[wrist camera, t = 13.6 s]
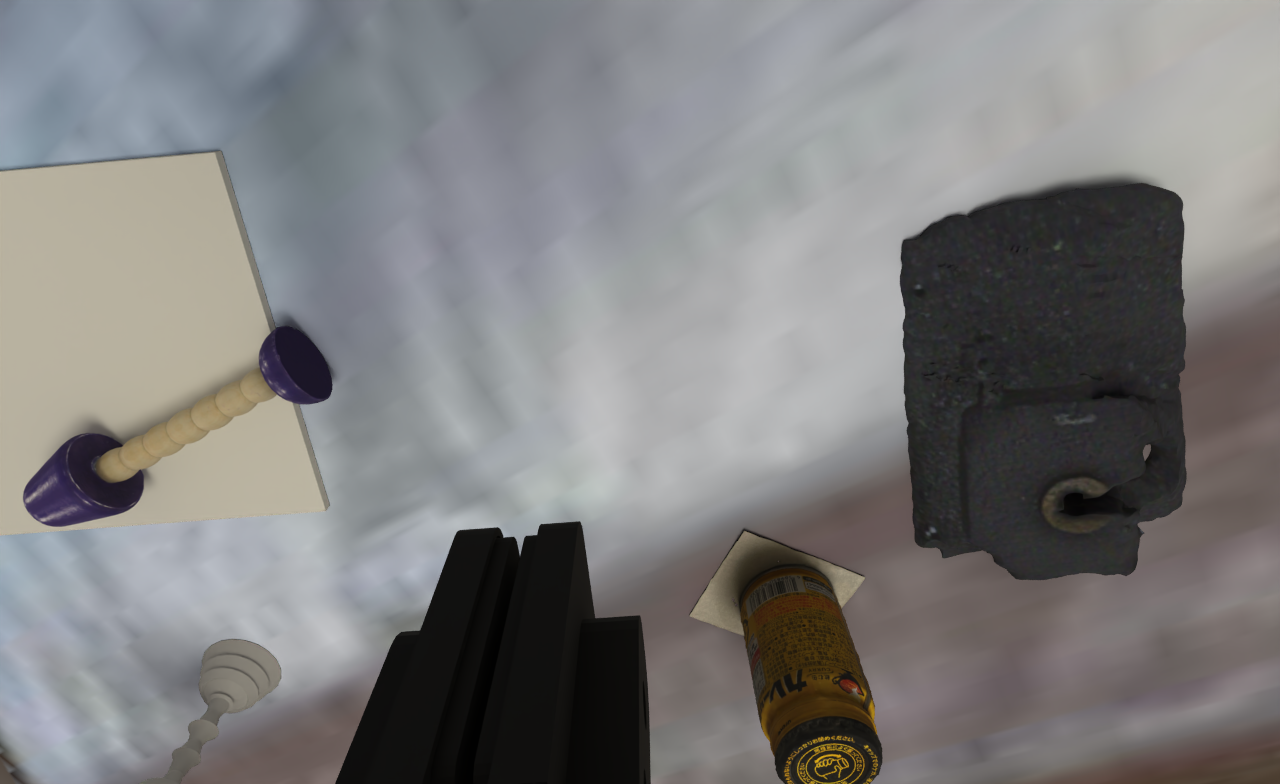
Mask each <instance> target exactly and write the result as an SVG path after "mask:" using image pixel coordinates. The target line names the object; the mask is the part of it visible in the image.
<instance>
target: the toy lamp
mask: <svg viewBox="0 0 1280 784" xmlns="http://www.w3.org/2000/svg"><path fill="white" fill-rule="evenodd" d="M259 366H260V367H259V368H256V369H254V370H252V371H250V372H249V373H248V374H246V375H245V376H244V378H243V379H242V380H238V381H234V382H231V383H229V384H227V385H226V386H224V387H223V388H222V389H221V390H220V391H219V392H218V394H212V395H209V396H206V397H204V398H202V399H201V400H199V401H198V402H197V403H196V404H195V405H194V407H193V408H188V409H184V410H182V411H180V412H178V413H177V414H175V415H174V416H173V417H172V418H171V419H170V420H169V422H163V423H160V424H158V425H156V426H154V427H152V428H151V429H150V430H149V431H148V432H147V433H146V434H145V435H140V436H136V437H134V438H132V439H130V440H129V441H127V442H126V443H125V444H124V445H122V444H121V443H119V442H118V441H116V440H114V439H113V438H111V437H108V436H105V435H102V434H96V433H85V434H79V435H77V436H74V437H72V438H71V439H69V440H68V441H66V442H65V443H64V444H63V445H62V446H61V447H60V448H59V449H58V450H57V451H56V452H55V453H54V454H53V455H52V456H51V457H50V458H49V459H48V460H47V461H46V462H45V464H44V465H43V466H42V467H41V468H40V469H39V470H38V471H37V473H36V474H35V475H34V476H33V477H32V478H31V479H30V480H29V482H28V483H27V485H26V486H25V489H24V492H23V502H24V505H25V508H26V509H27V511H28V513H29V514H30V515H31V516H32V517H33V518H34V519H36V520H37V521H39V522H40V523H42V524H45V525H47V526H52V527H64V526H70V525H75V524H79V523H83V522H88V521H92V520H97V519H101V518H105V517H110V516H114V515H118V514H121V513H124V512H126V511H128V510H130V509H131V508H133V507H134V506H135V505H136V504H137V503H138V501H139V500H140V498H141V496H142V493H143V490H144V475H143V473H142V471H141V469H145V468H149V467H151V466H153V465H154V464H156V463H157V462H158V461H159V460H161V458H162V457H166V456H170V455H172V454H174V453H176V452H178V451H179V450H181V449H182V448H183V447H184V446H185V445H186V444H190V443H194V442H196V441H199V440H200V439H202V438H203V437H205V436H206V435H207V434H208V433H209V432H210V430H216V429H219V428H221V427H223V426H225V425H227V424H228V423H229V422H230V421H231V420H232V419H233V417H236V416H240V415H243V414H246V413H248V412H249V411H251V410H252V409H253V408H254V407H255V406H256V405H257V404H258V403H260V402H265V401H268V400H270V399H272V398H274V397H275V396H276V395H278V396H280V397H281V398H283V399H285V400H287V401H289V402H292V403H296V404H313V403H318V402H322V401H324V400H326V399H328V398H329V396H330V395H331V392H332V378H331V376H330V372H329V369H328V366H327V364H326V362H325V360H324V358H323V356H322V355H321V354H320V352H319V350H318V349H317V348H316V346H315V345H314V344H313V343H312V342H311V341H310V339H308V338H307V337H306V336H305V335H304V334H302V333H301V332H300V331H298V330H296V329H293V328H292V327H288V326H282V327H278V328H276V329H275V330H273V331H272V332H271V333H270V334H269V335H268V336H267V337H266V338H265V340H264V342H263V344H262V346H261V348H260V351H259Z"/></svg>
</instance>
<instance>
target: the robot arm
mask: <svg viewBox="0 0 1280 784" xmlns="http://www.w3.org/2000/svg"><path fill="white" fill-rule="evenodd" d="M335 784H651V781H650V730H649V702H648V684H647V671H646V660H645V650H644V640H643V631H642V623H641V617H640V616H624V617H610V618H595V614H594V607H593V600H592V592H591V585H590V578H589V571H588V564H587V557H586V550H585V542H584V535H583V529H582V525H581V523H580V521H579V522H566V523H552V524H541V525H540V526H539V529H538V534H537V535H533V536H526V537H525V538H524V542H523V546H522V551H521V555H519V550H518V545H517V541H516V539H515V538H514V537H505V538H503V534H502V532H501V530H500V529H499V528H498V527H497V528H484V529H470V530H459V531H458V532H457V533H456V535H455V537H454V540H453V543H452V545H451V548H450V551H449V554H448V556H447V559H446V562H445V564H444V567H443V570H442V573H441V575H440V578H439V581H438V584H437V586H436V589H435V592H434V595H433V597H432V600H431V603H430V606H429V608H428V611H427V614H426V616H425V619H424V622H423V625H422V627H421V630H420V631H407V632H401V633H400V634H398V635H397V636H396V637H395V639H394V641H393V643H392V645H391V647H390V649H389V652H388V654H387V657H386V659H385V662H384V664H383V667H382V669H381V672H380V674H379V677H378V679H377V682H376V684H375V687H374V689H373V691H372V694H371V696H370V699H369V701H368V704H367V706H366V709H365V711H364V714H363V716H362V719H361V721H360V724H359V726H358V729H357V731H356V733H355V736H354V738H353V741H352V743H351V746H350V748H349V751H348V753H347V756H346V758H345V761H344V763H343V766H342V768H341V771H340V773H339V775H338V778H337V780H336V783H335Z"/></svg>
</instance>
